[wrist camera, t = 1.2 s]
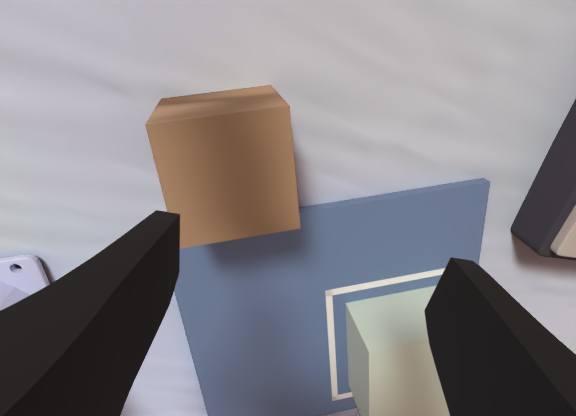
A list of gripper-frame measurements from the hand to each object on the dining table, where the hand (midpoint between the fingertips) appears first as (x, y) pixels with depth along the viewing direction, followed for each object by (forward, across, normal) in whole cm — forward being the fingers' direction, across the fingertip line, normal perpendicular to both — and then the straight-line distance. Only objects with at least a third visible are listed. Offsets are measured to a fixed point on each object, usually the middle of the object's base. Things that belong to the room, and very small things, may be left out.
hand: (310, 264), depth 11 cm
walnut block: (+10, +4, +2) cm, 11 cm away
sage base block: (+10, -8, +13) cm, 18 cm away
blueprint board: (+9, -4, +12) cm, 16 cm away
